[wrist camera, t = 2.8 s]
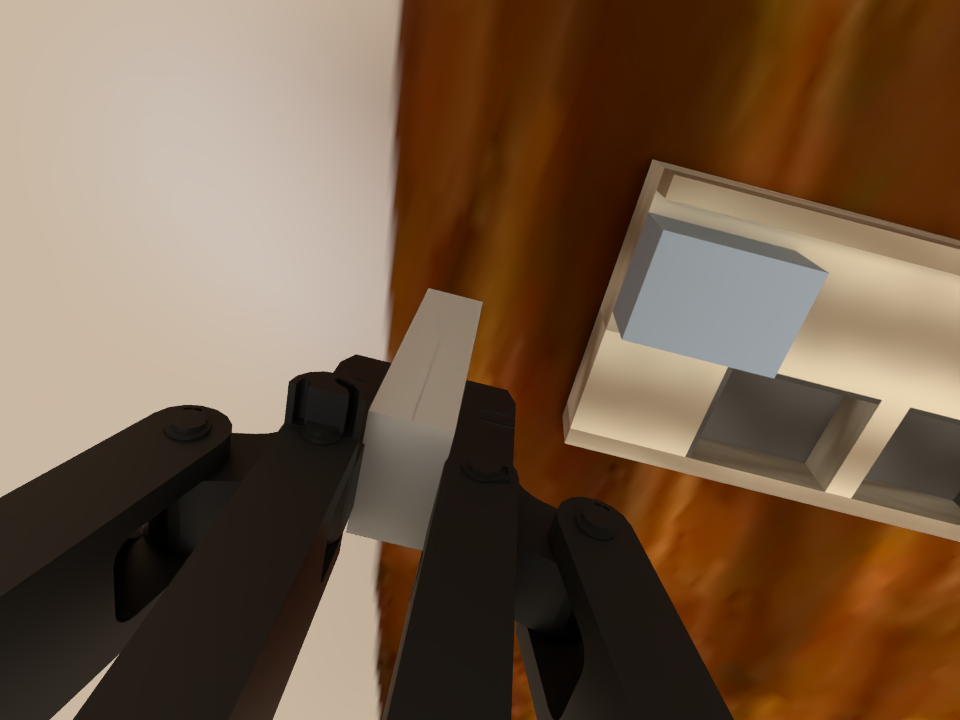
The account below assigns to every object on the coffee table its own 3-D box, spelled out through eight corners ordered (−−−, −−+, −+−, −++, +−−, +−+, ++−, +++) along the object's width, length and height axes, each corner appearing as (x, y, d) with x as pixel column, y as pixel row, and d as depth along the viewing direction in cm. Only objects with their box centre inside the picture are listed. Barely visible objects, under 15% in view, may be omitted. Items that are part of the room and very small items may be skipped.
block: (648, 212, 27) (663, 229, 24) (795, 250, 27) (829, 273, 24) (612, 311, 29) (621, 339, 26) (748, 346, 30) (774, 378, 26)
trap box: (652, 159, 29) (674, 174, 25) (1211, 306, 30) (1331, 347, 25) (562, 415, 36) (566, 464, 31) (1022, 530, 36) (1091, 594, 32)
